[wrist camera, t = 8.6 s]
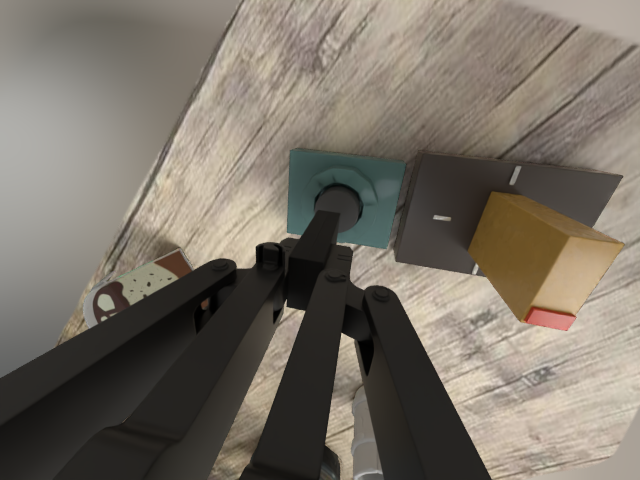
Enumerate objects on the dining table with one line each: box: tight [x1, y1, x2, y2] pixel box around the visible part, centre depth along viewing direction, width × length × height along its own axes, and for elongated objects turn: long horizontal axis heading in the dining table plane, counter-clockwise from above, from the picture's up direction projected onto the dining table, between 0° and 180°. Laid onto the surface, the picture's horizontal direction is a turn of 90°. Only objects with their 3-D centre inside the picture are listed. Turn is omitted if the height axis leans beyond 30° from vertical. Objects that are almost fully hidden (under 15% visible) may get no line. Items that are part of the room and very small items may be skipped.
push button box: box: [287, 148, 406, 249], centre depth 23 cm, size 10×8×4 cm
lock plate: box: [394, 150, 623, 277], centre depth 22 cm, size 14×10×3 cm
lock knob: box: [468, 191, 625, 331], centre depth 17 cm, size 6×2×9 cm, turn 174°
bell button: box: [314, 186, 360, 233], centre depth 21 cm, size 4×4×2 cm
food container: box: [83, 248, 208, 328], centre depth 30 cm, size 12×6×10 cm, turn 22°
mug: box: [351, 386, 384, 480], centre depth 30 cm, size 8×12×12 cm, turn 108°
